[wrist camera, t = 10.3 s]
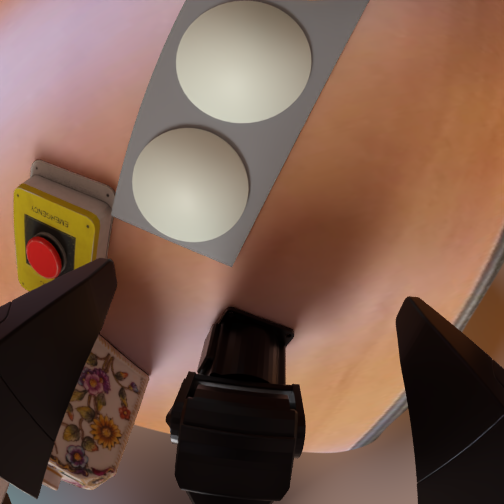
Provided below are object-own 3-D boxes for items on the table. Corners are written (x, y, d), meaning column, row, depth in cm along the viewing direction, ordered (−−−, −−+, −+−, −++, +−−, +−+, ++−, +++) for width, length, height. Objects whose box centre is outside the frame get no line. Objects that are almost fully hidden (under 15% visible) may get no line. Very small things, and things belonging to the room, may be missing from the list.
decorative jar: (77, 309, 28) (-4, 449, 13) (153, 375, 33) (109, 513, 17) (42, 341, 33) (-19, 445, 17) (104, 393, 37) (63, 498, 21)
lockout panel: (394, -50, 11) (400, -56, 9) (233, 260, 24) (231, 269, 23) (258, -102, 9) (257, -111, 8) (116, 210, 22) (108, 217, 21)
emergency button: (93, 209, 18) (85, 346, 25) (121, 187, 22) (102, 317, 29) (3, 171, 17) (14, 306, 24) (36, 155, 21) (35, 283, 28)
